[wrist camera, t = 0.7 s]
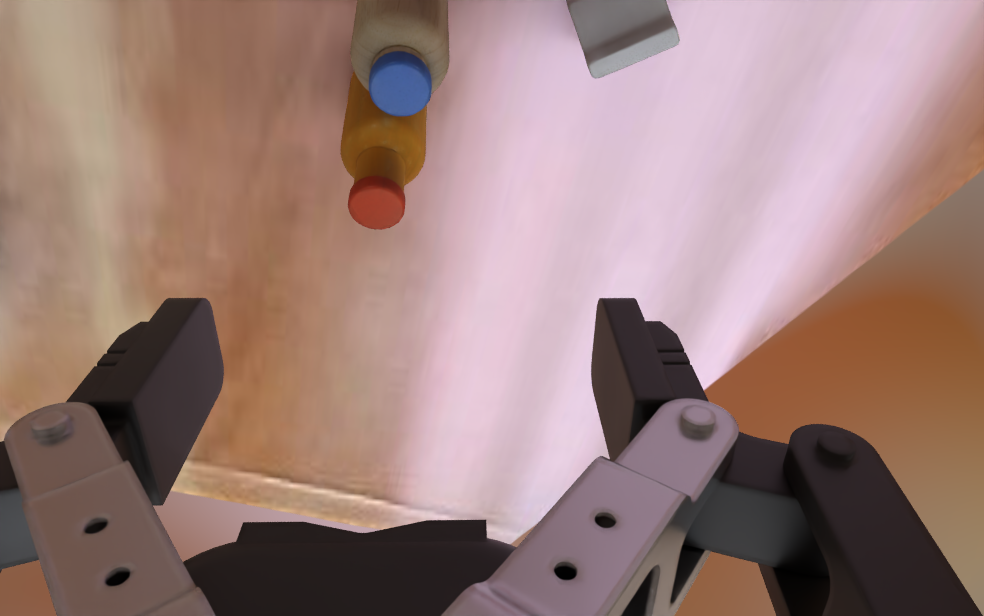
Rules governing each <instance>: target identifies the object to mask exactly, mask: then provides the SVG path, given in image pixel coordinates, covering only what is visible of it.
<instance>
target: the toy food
mask: <svg viewBox="0 0 984 616" xmlns="http://www.w3.org/2000/svg"><path fill="white" fill-rule="evenodd" d="M566 2H567V5H568V9H569V12H570V14H571V17H572V20H573V23H574V26H575V29H576V32H577V34H578V37H579V40H580V43H581V46H582V49H583V52H584V55H585V59H586V63H587V66H588V68H589V71H590V73H591V76H592V77H593V78H600V77H603V76H605V75H608V74H610V73H613V72H615V71H618V70H620V69H622V68H625V67H627V66H630V65H632V64H634V63H637V62H639V61H641V60H644V59H646V58H648V57H651V56H653V55H655V54H658V53H660V52H662V51H665V50H667V49H670V48H672V47H675V46H676V45H677V44H678V43H679V41H680V40H679V36H678V32H677V28H676V26H675V24H674V21H673V19H672V16H671V14H670V11H669V8H668V5H667V2H666V0H566ZM350 54H351V63H352V66H353V69H354V72H353V75H352V78H351V83H350V89H349V95H348V103H347V108H346V114H345V120H344V127H343V134H342V140H341V157H342V161H343V163H344V166H345V168H346V169H347V171H348V172H349V174H350V175H351V176H352V177H353V178H354V179H355V180H354V185H353V186H352V188H351V190H350V194H349V200H348V208H349V212H350V214H351V216H352V217H353V219H354V220H355V221H356V222H358V223H359V224H361V225H362V226H365V227H367V228H371V229H386V228H390V227H392V226H394V225H395V224H397V223H398V222H399V221H400V220H401V218H402V217H403V215H404V210H405V195H404V185H406V184H408V183H409V182H411V181H412V180H413V179H414V178H415V177H416V176H417V175H418V174H419V172H420V170H421V169H422V167H423V164H424V161H425V154H426V111H427V103H428V102H429V100H430V97H431V94H432V93H433V92H434V91H435V90H436V89H437V88H438V87H439V86H440V84H441V83H442V81H443V79H444V78H445V75H446V73H447V70H448V66H449V32H448V2H447V0H358V2H357V8H356V15H355V21H354V28H353V35H352V41H351V51H350Z"/></svg>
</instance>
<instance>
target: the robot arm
mask: <svg viewBox="0 0 984 616" xmlns="http://www.w3.org/2000/svg"><path fill="white" fill-rule="evenodd" d="M223 376H224V367H223V360H222V355H221V350H220V345H219V340H218V335H217V331H216V326H215V321H214V316H213V311H212V307H211V304H210V302H209V301H208V300H207V299H206V298H168V299H166V300H165V301H164V302H163V304H162V305H161V306H160V308H159V309H158V310H157V311H156V313H155V314H154V315H153V317H152V318H151V319H150V321H149V322H140V323H138V324H137V325H135V326H133V327H132V328H130V329H129V330H127V331H126V332H124V333H122V334H121V335H119V337H118V338H117V339H116V340H115V342H114V343H113V344H112V345H111V347H110V348H109V349H108V350H107V354H104V355H103V356H102V358H101V359H100V360H99V361H98V363H97V366H94V368H93V369H92V370H91V371H90V373H89V374H88V375H87V376H86V378H85V379H84V380H83V381H82V383H81V384H80V385H79V386H78V388H77V389H76V390H75V391H74V393H73V394H72V395H71V396H70V398H69V399H68V400H67V401H66V402H65V403H58V404H53V405H49V406H46V407H43V408H40V409H37V410H35V411H33V412H31V413H29V414H27V415H25V416H24V417H22V418H21V419H19V420H18V421H16V422H15V423H14V424H13V425H12V426H11V427H10V428H9V430H8V431H7V433H6V435H5V438H4V441H2V442H0V572H1V570H2V569H4V568H8V567H12V566H16V565H20V564H24V563H28V562H32V561H36V560H39V561H40V564H41V567H42V571H43V573H44V577H45V580H46V583H47V586H48V589H49V592H50V596H51V599H52V602H53V605H54V608H55V611H56V615H57V616H674V615H675V613H676V612H677V610H678V608H679V606H680V605H681V603H682V601H683V599H684V598H685V596H686V594H687V592H688V591H689V589H690V587H691V586H692V584H693V582H694V580H695V579H696V577H697V575H698V573H699V571H700V570H701V568H702V567H703V565H704V563H705V561H706V559H707V558H708V556H709V554H710V552H711V551H712V552H716V553H720V554H724V555H727V556H731V557H735V558H739V559H744V560H747V561H752V562H756V563H758V565H759V568H760V571H761V574H762V576H763V579H764V582H765V585H766V588H767V590H768V593H769V596H770V599H771V602H772V604H773V607H774V610H775V613H776V616H983V615H982V614H981V612H980V611H979V609H978V608H977V606H976V604H975V603H974V601H973V600H972V598H971V597H970V595H969V594H968V592H967V590H966V589H965V587H964V586H963V584H962V583H961V581H960V580H959V578H958V577H957V575H956V573H955V572H954V570H953V569H952V567H951V566H950V564H949V563H948V561H947V559H946V558H945V556H944V555H943V553H942V552H941V550H940V549H939V547H938V546H937V544H936V542H935V541H934V539H933V538H932V536H931V535H930V533H929V532H928V530H927V529H926V527H925V525H924V524H923V522H922V521H921V519H920V518H919V516H918V515H917V513H916V512H915V510H914V509H913V507H912V505H911V504H910V502H909V501H908V499H907V498H906V496H905V494H904V493H903V491H902V490H901V488H900V487H899V485H898V484H897V482H896V481H895V479H894V477H893V476H892V474H891V473H890V471H889V470H888V468H887V467H886V465H885V464H884V462H883V461H882V459H881V457H880V456H879V454H878V453H877V451H876V450H875V449H874V447H873V446H872V445H870V444H869V443H868V442H867V441H866V440H864V439H863V438H861V437H860V436H858V435H856V434H854V433H852V432H850V431H848V430H845V429H843V428H839V427H836V426H831V425H823V424H811V425H805V426H802V427H800V428H798V429H796V430H795V431H794V432H793V433H792V435H791V437H790V441H789V444H785V443H780V442H775V441H770V440H766V439H760V438H757V437H753V436H749V435H747V434H744V433H741V432H739V428H738V424H737V422H736V420H735V419H734V417H733V416H732V415H731V414H730V413H728V412H727V411H726V410H724V409H723V408H721V407H719V406H717V405H715V404H713V403H710V402H709V401H708V399H707V397H706V395H705V393H704V391H703V388H702V386H701V384H700V382H699V380H698V378H697V376H696V374H695V372H694V369H693V367H692V365H690V361H689V359H688V357H687V355H686V353H684V348H683V346H682V344H681V342H680V340H679V338H678V336H677V334H676V333H674V332H673V331H672V330H671V329H669V328H668V327H667V326H666V325H665V324H663V323H662V322H661V321H645V320H644V317H643V315H642V312H641V310H640V308H639V305H638V303H637V301H636V299H635V298H600V299H599V301H598V304H597V311H596V321H595V332H594V342H593V352H592V364H591V377H592V388H593V393H594V397H595V401H596V405H597V409H598V413H599V417H600V421H601V425H602V429H603V433H604V437H605V441H606V445H607V449H608V453H609V457H610V459H607V458H605V457H603V456H600V457H598V458H596V459H595V460H594V461H593V462H592V463H591V464H590V465H589V466H588V468H587V469H586V470H585V471H584V472H583V473H582V474H581V476H580V477H579V478H578V479H577V480H576V481H575V482H574V483H573V485H572V486H571V487H570V488H569V489H568V490H567V491H566V492H565V494H564V495H563V496H562V497H561V498H560V499H559V500H558V502H557V503H556V504H555V505H554V506H553V507H552V508H551V509H550V511H549V512H548V513H547V514H546V515H545V516H544V517H543V518H542V520H541V521H540V522H539V523H538V524H537V525H536V526H535V527H534V529H533V530H532V531H531V532H530V533H529V534H528V535H527V537H526V538H525V539H524V540H523V541H522V542H521V543H520V545H519V546H518V547H514V546H512V545H510V544H507V543H504V542H500V541H497V540H493V539H488V538H487V531H486V520H427V521H422V522H417V523H412V524H408V525H403V526H398V527H393V528H389V529H384V530H379V531H375V532H369V533H357V532H352V531H347V530H342V529H337V528H332V527H327V526H322V525H316V524H311V523H307V522H252V523H251V522H244V523H243V525H242V527H241V530H240V533H239V536H238V538H237V541H236V542H232V543H228V544H225V545H222V546H218V547H215V548H212V549H210V550H207V551H205V552H202V553H200V554H198V555H196V556H194V557H192V558H190V559H188V560H186V561H184V562H182V560H181V558H180V556H179V554H178V552H177V550H176V549H175V547H174V545H173V543H172V541H171V539H170V537H169V535H168V534H167V532H166V530H165V528H164V526H163V524H162V522H161V521H160V519H159V517H158V515H157V513H156V511H155V509H154V507H153V505H163V504H164V502H165V500H166V498H167V496H168V494H169V492H170V490H171V488H172V486H173V484H174V482H175V480H176V478H177V476H178V474H179V472H180V470H181V468H182V466H183V464H184V462H185V460H186V458H187V456H188V454H189V452H190V451H191V449H192V447H193V445H194V443H195V441H196V439H197V437H198V435H199V433H200V431H201V429H202V427H203V425H204V423H205V421H206V419H207V417H208V415H209V413H210V411H211V409H212V407H213V405H214V403H215V401H216V399H217V397H218V395H219V393H220V391H221V388H222V384H223Z"/></svg>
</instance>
